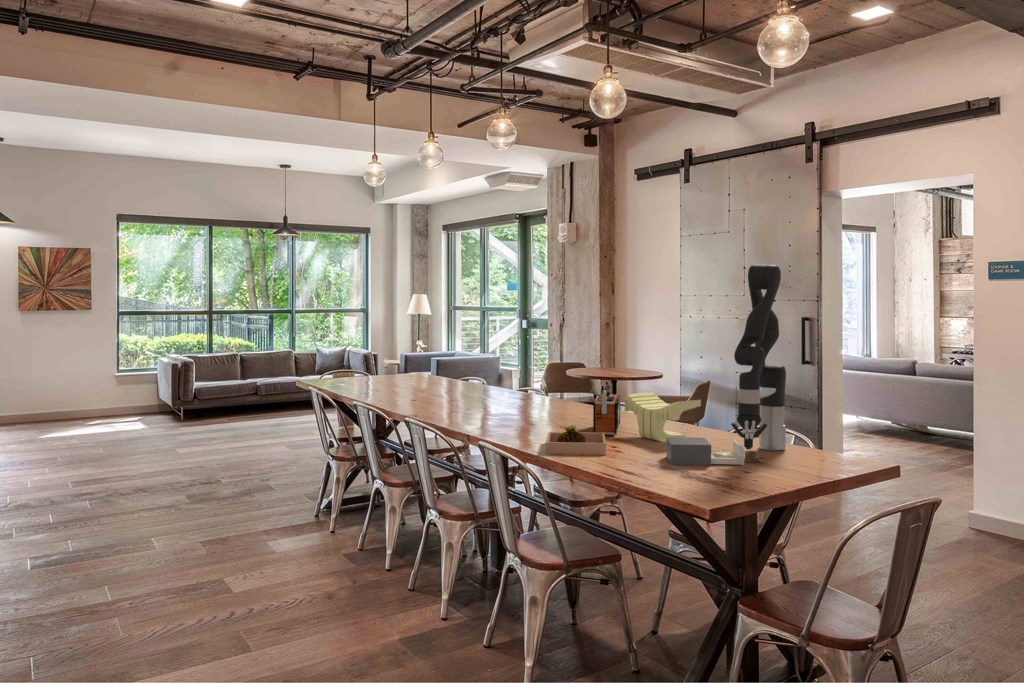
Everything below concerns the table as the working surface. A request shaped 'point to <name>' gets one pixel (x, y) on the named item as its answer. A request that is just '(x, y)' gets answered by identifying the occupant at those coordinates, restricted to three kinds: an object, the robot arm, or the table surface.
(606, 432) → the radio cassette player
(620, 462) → the table surface
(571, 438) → the cactus
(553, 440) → the planter frame
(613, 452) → the table surface
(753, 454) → the pedestal
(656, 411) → the slatted curved stool
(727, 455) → the cream domed part
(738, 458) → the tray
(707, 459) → the housing
